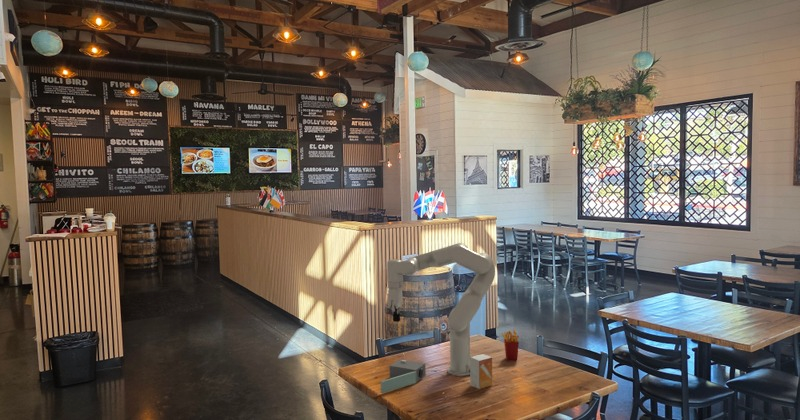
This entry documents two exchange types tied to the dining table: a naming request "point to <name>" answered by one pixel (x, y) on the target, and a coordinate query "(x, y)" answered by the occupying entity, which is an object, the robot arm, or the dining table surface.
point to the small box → (481, 371)
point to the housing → (407, 369)
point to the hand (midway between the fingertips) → (396, 321)
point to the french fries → (511, 346)
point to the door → (398, 382)
